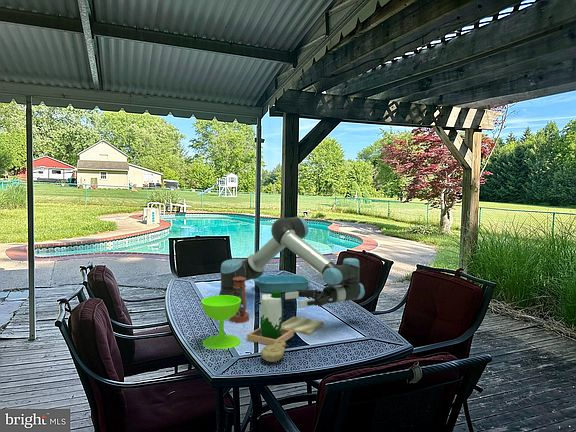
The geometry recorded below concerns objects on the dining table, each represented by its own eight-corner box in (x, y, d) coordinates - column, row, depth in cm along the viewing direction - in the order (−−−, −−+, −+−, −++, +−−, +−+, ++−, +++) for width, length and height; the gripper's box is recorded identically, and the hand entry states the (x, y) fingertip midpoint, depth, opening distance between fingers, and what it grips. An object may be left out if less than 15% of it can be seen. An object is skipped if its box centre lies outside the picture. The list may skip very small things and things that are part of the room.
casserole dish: (305, 283, 265) (305, 273, 264) (315, 292, 243) (315, 281, 242) (250, 286, 256) (251, 275, 256) (255, 295, 235) (255, 283, 234)
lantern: (252, 317, 193) (253, 257, 191) (243, 324, 183) (243, 261, 181) (234, 315, 196) (234, 256, 194) (225, 322, 187) (225, 259, 185)
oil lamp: (284, 349, 156) (284, 336, 156) (291, 365, 142) (291, 351, 142) (257, 350, 154) (257, 338, 154) (262, 367, 140) (262, 353, 140)
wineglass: (206, 354, 150) (205, 308, 149) (198, 339, 165) (197, 297, 164) (246, 347, 157) (246, 303, 156) (235, 334, 171) (235, 293, 170)
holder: (247, 340, 165) (247, 334, 164) (265, 329, 177) (265, 324, 177) (276, 347, 158) (276, 341, 158) (293, 335, 170) (293, 330, 170)
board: (277, 328, 179) (277, 326, 178) (293, 318, 193) (293, 316, 193) (309, 335, 171) (309, 332, 171) (324, 324, 185) (324, 321, 185)
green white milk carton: (282, 341, 164) (282, 294, 162) (260, 342, 163) (260, 294, 161) (280, 333, 172) (281, 289, 171) (260, 334, 171) (260, 289, 170)
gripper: (349, 309, 169) (306, 316, 160) (319, 295, 191) (280, 301, 182) (349, 292, 169) (306, 298, 159) (319, 280, 191) (280, 285, 181)
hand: (292, 299), depth 170 cm, fingers open, 13 cm apart
